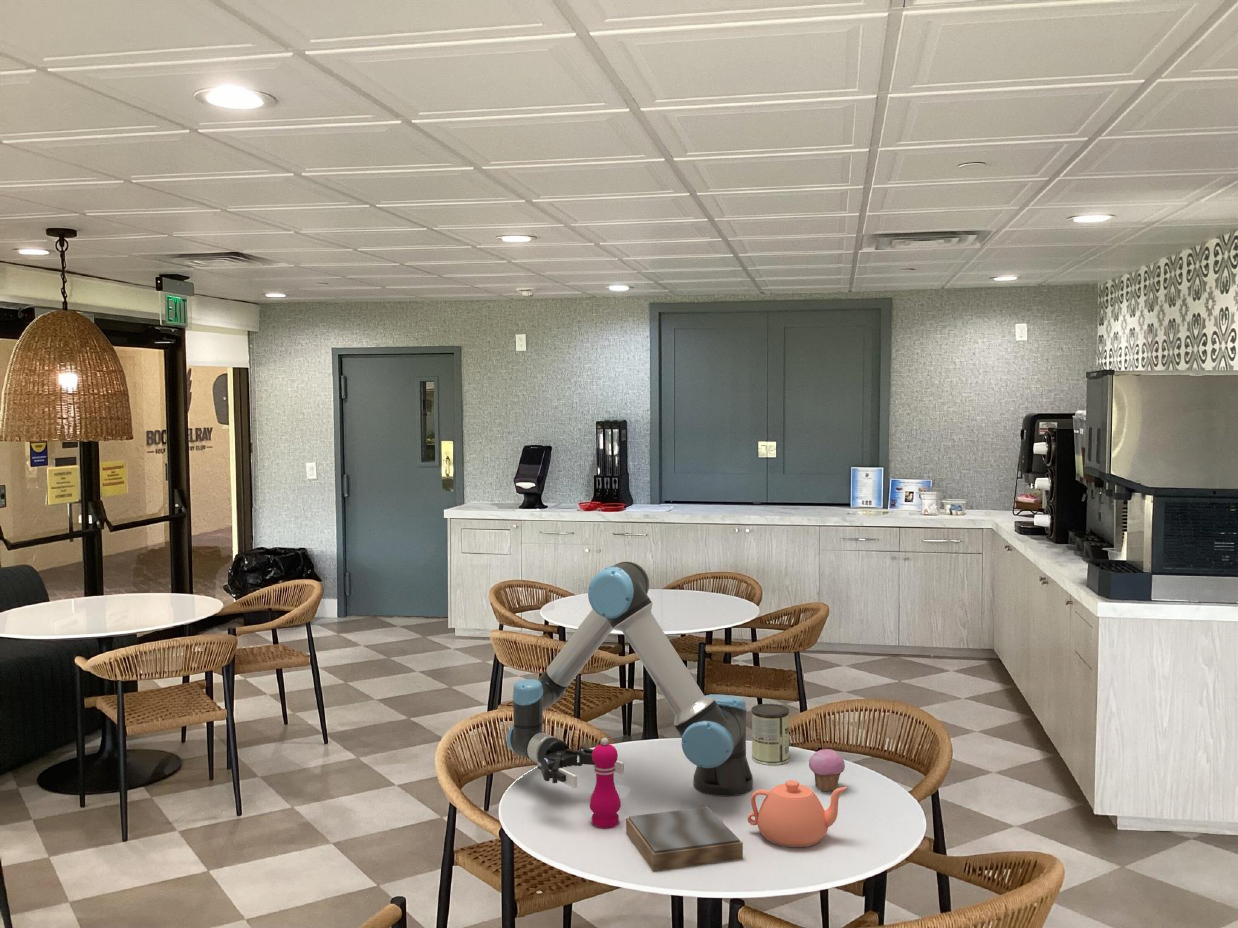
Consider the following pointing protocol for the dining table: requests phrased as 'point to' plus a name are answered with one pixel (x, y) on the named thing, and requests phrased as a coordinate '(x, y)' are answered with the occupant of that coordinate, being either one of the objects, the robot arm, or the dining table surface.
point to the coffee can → (770, 734)
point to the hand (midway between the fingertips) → (599, 775)
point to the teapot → (793, 814)
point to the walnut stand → (683, 838)
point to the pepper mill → (605, 787)
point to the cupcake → (826, 768)
